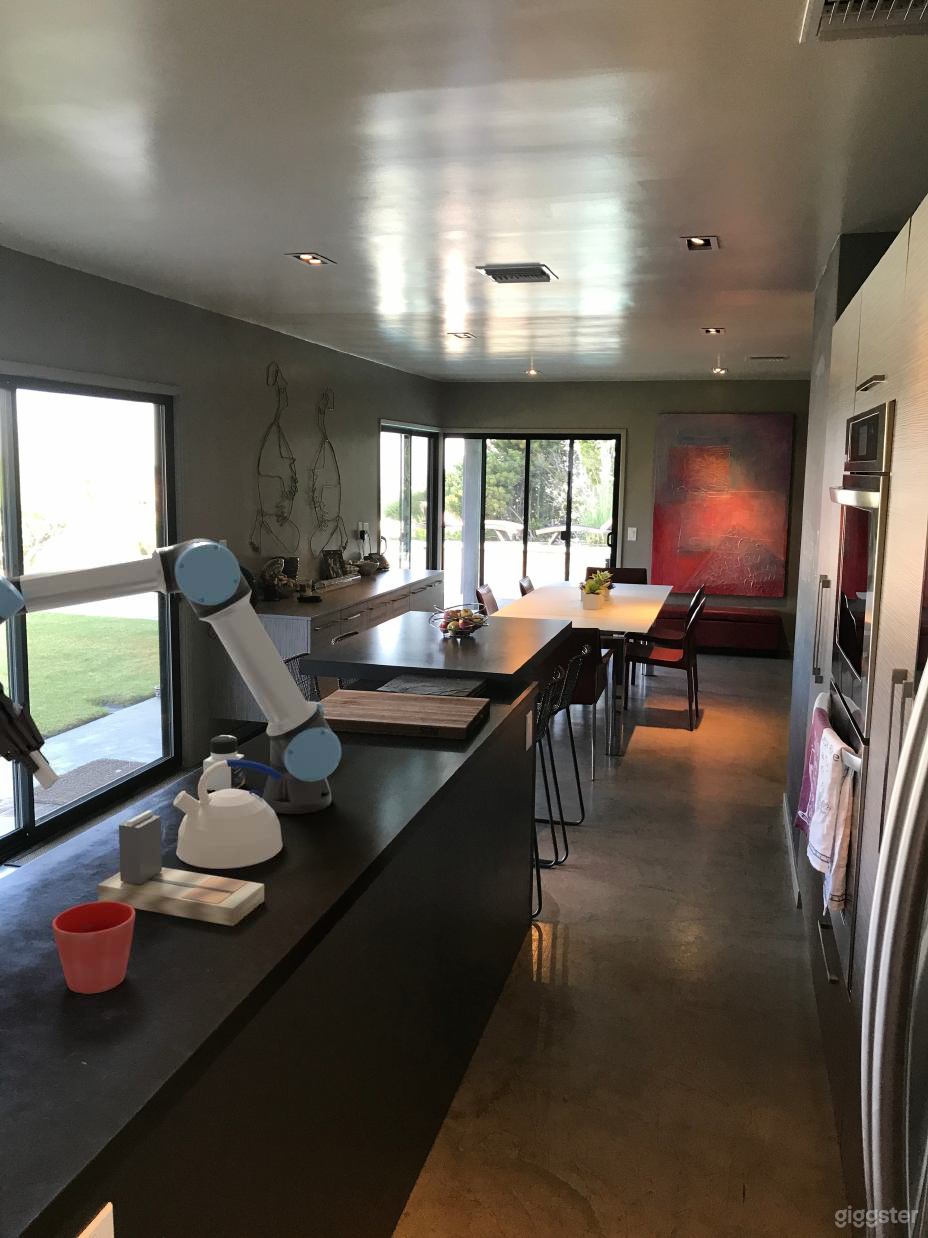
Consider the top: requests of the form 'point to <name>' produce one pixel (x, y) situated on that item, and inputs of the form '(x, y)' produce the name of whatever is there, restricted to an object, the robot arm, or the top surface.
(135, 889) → the fader console
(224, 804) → the kettle
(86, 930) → the flower pot
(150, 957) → the top surface
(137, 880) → the fader knob
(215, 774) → the medicine bottle
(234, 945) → the top surface
